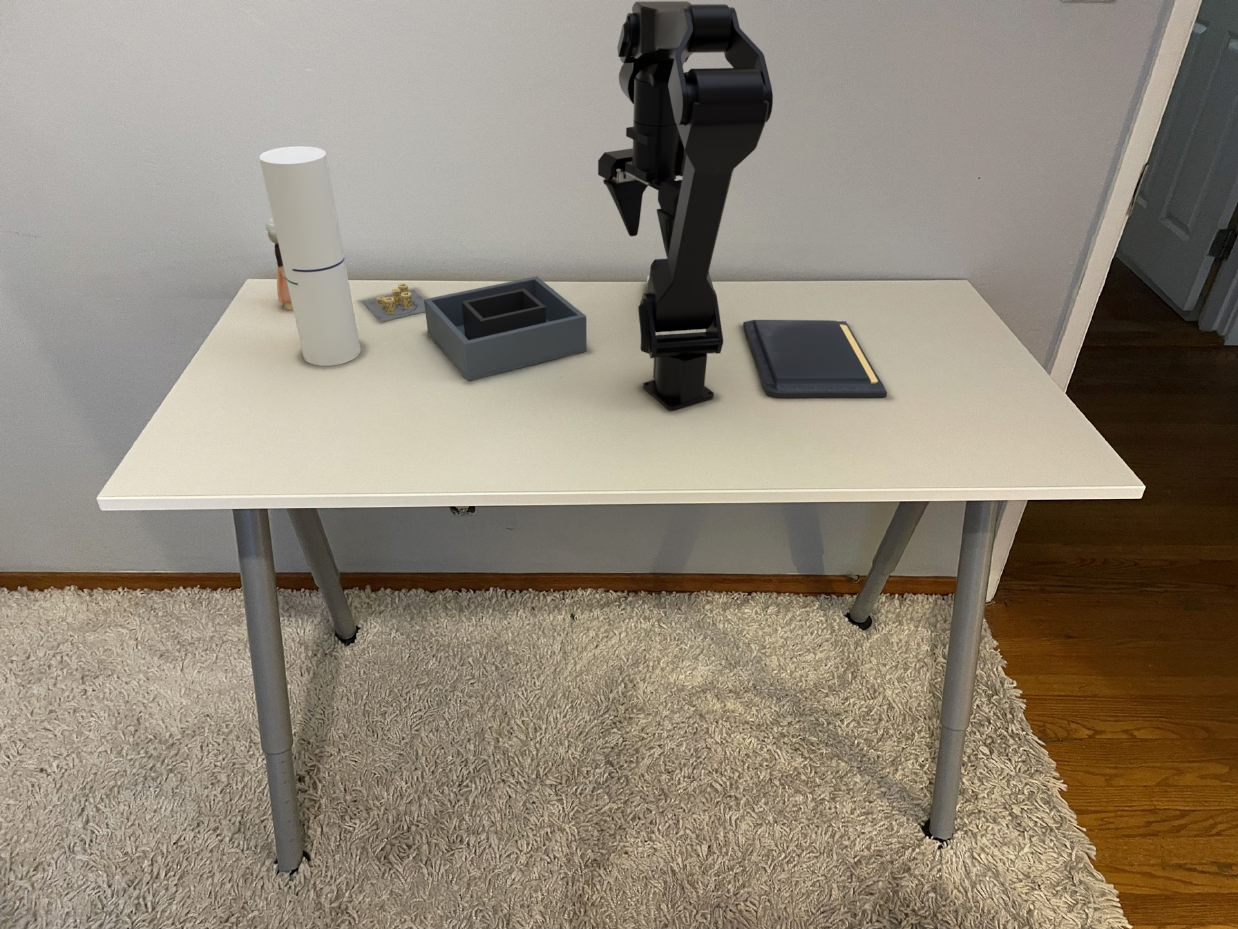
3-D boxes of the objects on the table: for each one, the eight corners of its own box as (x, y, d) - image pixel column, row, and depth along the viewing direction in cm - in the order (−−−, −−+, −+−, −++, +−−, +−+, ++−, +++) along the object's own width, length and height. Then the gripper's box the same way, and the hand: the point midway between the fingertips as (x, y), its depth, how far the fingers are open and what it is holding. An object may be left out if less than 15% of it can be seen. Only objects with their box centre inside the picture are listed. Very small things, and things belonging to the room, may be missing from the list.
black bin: (547, 341, 112) (545, 306, 109) (483, 356, 108) (481, 321, 105) (526, 322, 116) (524, 288, 113) (464, 335, 112) (461, 301, 110)
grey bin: (586, 351, 111) (586, 316, 108) (468, 381, 104) (464, 344, 101) (538, 309, 121) (537, 275, 118) (427, 334, 114) (423, 299, 111)
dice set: (407, 294, 124) (405, 282, 123) (420, 307, 121) (418, 294, 120) (374, 301, 122) (372, 289, 121) (386, 315, 118) (384, 302, 117)
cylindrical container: (345, 368, 106) (306, 166, 91) (292, 362, 107) (246, 161, 92) (370, 343, 111) (337, 148, 97) (320, 337, 113) (280, 144, 98)
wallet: (743, 312, 117) (852, 313, 117) (742, 324, 118) (849, 326, 118) (764, 384, 101) (890, 386, 101) (762, 397, 102) (887, 399, 102)
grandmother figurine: (276, 296, 123) (256, 210, 115) (304, 292, 124) (286, 207, 117) (283, 318, 117) (263, 229, 110) (312, 313, 118) (293, 225, 111)
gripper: (759, 130, 97) (745, 259, 106) (670, 98, 110) (664, 215, 119) (680, 142, 92) (672, 276, 101) (596, 106, 105) (595, 228, 114)
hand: (651, 246), depth 109 cm, fingers open, 9 cm apart
